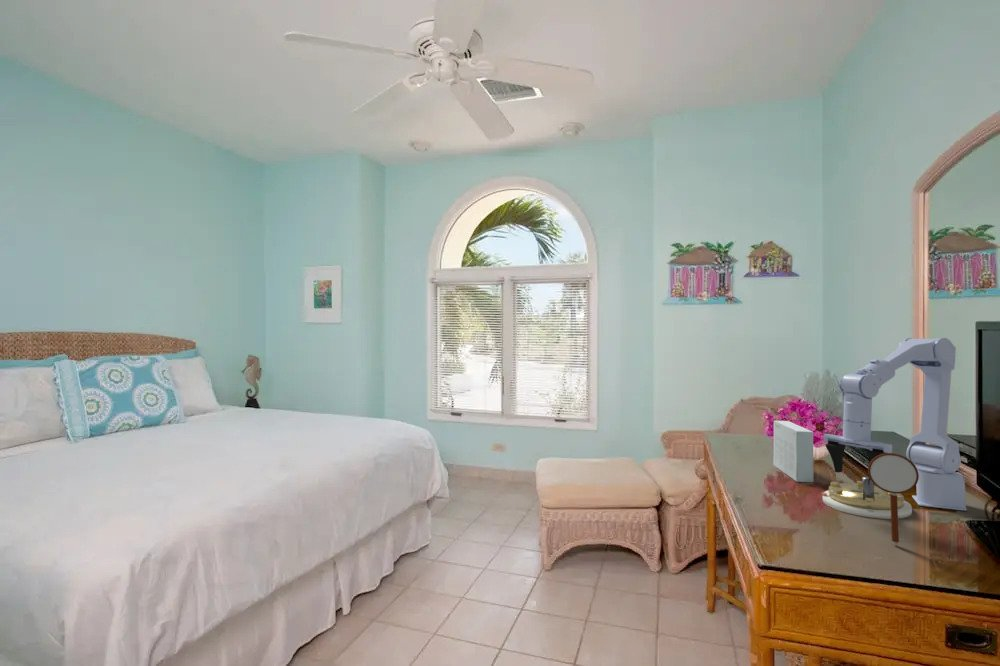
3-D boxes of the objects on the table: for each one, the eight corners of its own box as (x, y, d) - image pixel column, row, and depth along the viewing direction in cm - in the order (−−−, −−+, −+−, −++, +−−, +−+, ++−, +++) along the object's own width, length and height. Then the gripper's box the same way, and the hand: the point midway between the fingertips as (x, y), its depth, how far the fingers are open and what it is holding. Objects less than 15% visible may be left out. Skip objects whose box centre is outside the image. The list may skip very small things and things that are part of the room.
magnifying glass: (920, 548, 104) (917, 454, 104) (922, 551, 103) (918, 456, 103) (870, 540, 109) (866, 450, 109) (870, 543, 107) (867, 452, 108)
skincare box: (815, 483, 151) (814, 431, 151) (796, 482, 152) (794, 431, 152) (789, 465, 171) (788, 419, 172) (772, 464, 173) (771, 419, 173)
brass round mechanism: (897, 494, 133) (896, 467, 133) (910, 514, 119) (909, 483, 119) (826, 487, 141) (825, 461, 141) (831, 504, 127) (830, 476, 127)
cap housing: (903, 499, 134) (902, 492, 134) (920, 523, 117) (920, 514, 117) (820, 490, 143) (819, 483, 143) (825, 511, 127) (825, 503, 127)
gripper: (818, 417, 128) (815, 469, 127) (883, 426, 115) (881, 484, 115) (832, 417, 131) (830, 468, 131) (897, 426, 119) (895, 482, 118)
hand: (855, 475), depth 123 cm, fingers open, 7 cm apart
